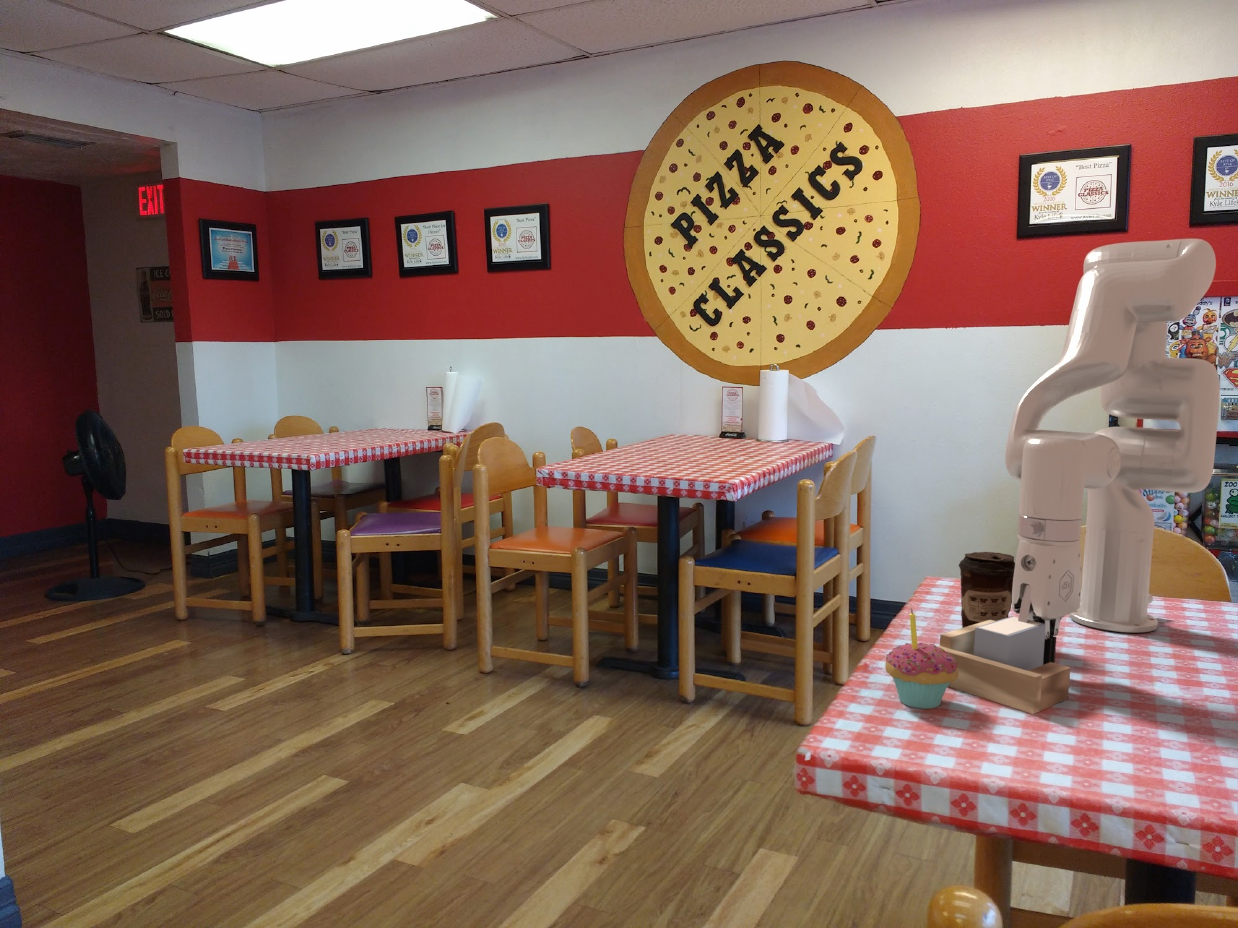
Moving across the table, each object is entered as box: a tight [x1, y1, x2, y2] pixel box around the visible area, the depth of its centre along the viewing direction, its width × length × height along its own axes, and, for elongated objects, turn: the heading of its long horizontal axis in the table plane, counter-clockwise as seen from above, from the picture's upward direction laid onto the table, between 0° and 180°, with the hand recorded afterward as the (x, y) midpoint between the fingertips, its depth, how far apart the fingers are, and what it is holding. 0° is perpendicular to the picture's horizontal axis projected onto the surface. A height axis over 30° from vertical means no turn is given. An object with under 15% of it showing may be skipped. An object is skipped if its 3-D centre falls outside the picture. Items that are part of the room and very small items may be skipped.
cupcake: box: [884, 607, 958, 710], centre depth 112 cm, size 9×8×12 cm
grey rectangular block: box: [974, 615, 1046, 671], centre depth 118 cm, size 9×4×8 cm, turn 128°
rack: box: [937, 620, 1071, 715], centre depth 118 cm, size 14×14×6 cm
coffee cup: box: [958, 551, 1016, 628], centre depth 137 cm, size 9×8×13 cm
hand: (1039, 663), depth 123 cm, fingers closed
